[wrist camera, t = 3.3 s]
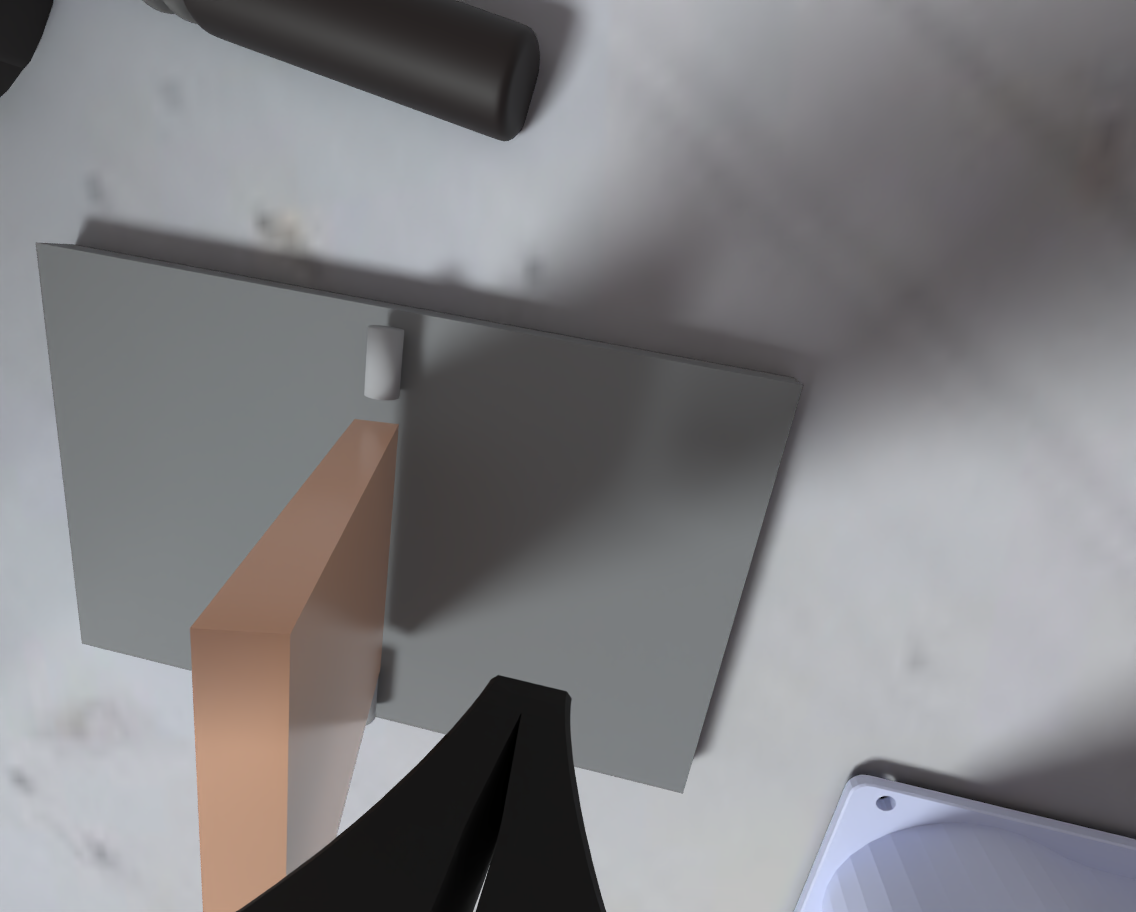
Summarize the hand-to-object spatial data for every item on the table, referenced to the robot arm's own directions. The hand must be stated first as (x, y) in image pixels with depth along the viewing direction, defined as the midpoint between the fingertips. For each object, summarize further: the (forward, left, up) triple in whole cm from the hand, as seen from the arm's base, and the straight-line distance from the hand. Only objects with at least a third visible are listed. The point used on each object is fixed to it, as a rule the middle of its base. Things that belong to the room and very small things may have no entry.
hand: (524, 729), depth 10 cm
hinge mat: (+5, 0, -6) cm, 8 cm away
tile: (+4, 0, -1) cm, 4 cm away
